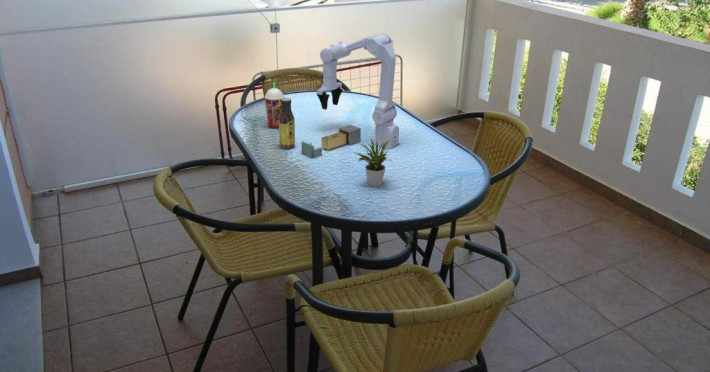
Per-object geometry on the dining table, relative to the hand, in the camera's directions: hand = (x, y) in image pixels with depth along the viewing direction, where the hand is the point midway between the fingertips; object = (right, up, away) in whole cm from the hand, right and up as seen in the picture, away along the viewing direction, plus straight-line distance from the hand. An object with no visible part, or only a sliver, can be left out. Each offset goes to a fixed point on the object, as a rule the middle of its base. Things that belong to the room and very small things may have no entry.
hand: (329, 106), depth 257 cm
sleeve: (+9, -16, -9) cm, 20 cm away
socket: (-6, -22, -22) cm, 31 cm away
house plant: (+18, -33, -44) cm, 57 cm away
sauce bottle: (-17, -18, -15) cm, 29 cm away
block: (+4, -17, -13) cm, 21 cm away
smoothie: (-24, -8, +6) cm, 26 cm away
